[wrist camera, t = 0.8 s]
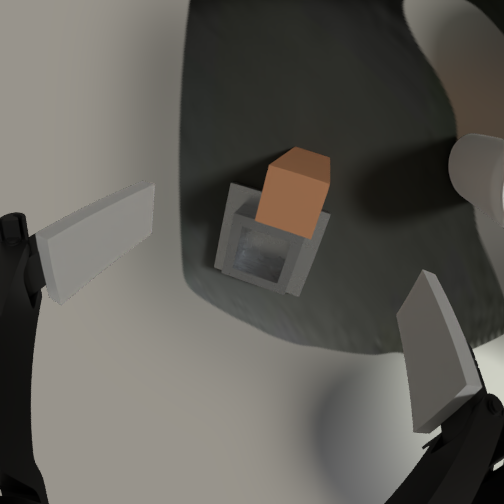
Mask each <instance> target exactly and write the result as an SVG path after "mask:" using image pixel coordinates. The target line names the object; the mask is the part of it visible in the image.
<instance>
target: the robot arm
mask: <svg viewBox="0 0 504 504" xmlns="http://www.w3.org/2000/svg"><path fill="white" fill-rule="evenodd" d="M154 191H155V184H154V183H150V182H146V181H140V182H138V183H136V184H134V185H131V186H129V187H126V188H124V189H122V190H120V191H118V192H115V193H113V194H111V195H109V196H106V197H105V198H102V199H100V200H98V201H96V202H94V203H92V204H90V205H88V206H85V207H84V208H81V209H80V210H78V211H76V212H74V213H72V214H70V215H68V216H66V217H64V218H62V219H60V220H58V221H56V222H55V223H53V224H51V225H49V226H47V227H46V228H44V229H42V230H40V231H38V232H37V233H35V234H33V235H32V236H30V237H29V235H28V229H27V223H26V216H25V215H24V214H23V213H17V212H15V213H10V214H7V215H4V216H2V217H1V218H0V490H1V493H2V496H0V504H49V503H48V498H47V494H46V489H45V484H44V480H43V477H42V475H41V472H40V470H39V469H38V467H37V465H36V463H35V460H34V456H33V446H32V433H31V378H32V363H33V353H34V343H35V336H36V328H37V322H38V316H39V310H40V305H41V300H42V292H41V288H43V287H44V286H45V285H46V287H47V290H48V295H49V297H50V298H51V299H52V300H54V301H55V302H57V303H58V304H60V305H62V304H63V303H65V302H66V301H67V300H68V299H69V298H71V297H72V296H73V295H74V294H75V293H76V292H78V291H79V290H80V289H81V288H83V287H84V286H85V285H86V284H87V283H89V282H90V281H91V280H92V279H94V278H95V277H96V276H97V275H98V274H100V273H101V272H102V271H103V270H105V269H106V268H107V267H108V266H110V265H111V264H112V263H114V262H115V261H116V260H118V259H119V258H120V257H121V256H123V255H124V254H125V253H127V252H128V251H129V250H131V249H132V248H133V247H135V246H136V245H137V244H139V243H140V242H141V241H143V240H144V239H145V238H147V237H148V236H149V235H151V234H152V219H153V203H154ZM396 316H397V321H398V326H399V330H400V335H401V340H402V346H403V351H404V357H405V363H406V369H407V376H408V383H409V390H410V399H411V408H412V417H413V432H416V433H431V432H432V431H433V430H435V429H436V428H437V427H438V426H440V425H441V430H442V432H441V433H440V434H439V435H438V436H436V437H435V438H434V439H432V440H431V441H429V442H428V443H427V444H425V445H424V446H423V447H422V448H423V449H425V448H426V447H428V446H429V448H428V449H427V451H426V452H425V454H424V455H423V457H422V458H421V459H420V461H419V462H418V463H417V465H416V466H415V467H414V469H413V470H412V472H411V473H410V474H409V475H408V477H407V478H406V479H405V480H404V482H403V483H402V484H401V485H400V486H399V487H398V489H397V490H396V491H395V492H394V493H393V495H392V496H391V497H390V498H389V499H388V500H387V501H386V503H384V504H504V463H503V465H502V466H501V467H499V468H498V469H496V470H494V471H493V468H494V465H495V464H496V463H498V462H499V461H501V460H502V459H504V407H503V405H502V403H501V401H500V400H499V399H498V397H496V396H495V395H493V394H490V393H489V394H487V391H486V387H485V384H484V381H483V378H482V375H481V372H480V369H479V368H478V364H477V361H476V360H475V355H474V353H473V350H472V348H471V346H470V345H469V344H468V342H467V341H466V339H465V337H464V335H463V332H462V330H461V328H460V325H459V323H458V321H457V318H456V316H455V314H454V312H453V310H452V307H451V305H450V303H449V301H448V299H447V297H446V295H445V293H444V291H443V289H442V287H441V285H440V283H439V281H438V279H437V277H436V275H435V274H433V273H430V272H428V271H425V270H422V271H421V273H420V275H419V277H418V279H417V281H416V282H415V284H414V286H413V288H412V290H411V291H410V293H409V295H408V297H407V298H406V300H405V302H404V303H403V305H402V307H401V308H400V310H399V311H398V313H397V315H396Z"/></svg>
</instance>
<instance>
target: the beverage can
mask: <svg viewBox="0 0 504 504" xmlns="http://www.w3.org/2000/svg"><path fill="white" fill-rule="evenodd" d="M448 168H449V176H450V179H451V182H452V185H453V187H454V188H455V190H456V191H457V192H458V194H459V195H461V196H462V197H463V198H464V199H466V200H467V201H469V202H470V203H471V204H473V205H474V206H476V207H477V208H478V209H480V210H481V211H482V212H484V213H485V214H486V215H488V216H489V217H490V218H491V219H493V220H494V221H495V222H496V223H498V224H499V225H500V226H501V227H502V228H504V139H501V138H497V137H492V136H485V135H481V134H467V135H464V136H463V137H461V138H460V139H459V140H458V141H457V142H456V143H455V144H454V146H453V148H452V150H451V153H450V156H449V163H448Z"/></svg>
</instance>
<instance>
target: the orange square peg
mask: <svg viewBox="0 0 504 504" xmlns="http://www.w3.org/2000/svg"><path fill="white" fill-rule="evenodd" d="M329 186H330V158H329V157H326V156H323V155H320V154H317V153H314V152H311V151H308V150H304V149H301V148H298V147H294V148H292V149H291V150H290V151H288V152H287V153H285V154H284V155H282V156H281V157H280V158H278V159H277V160H275V161H274V162H272V163H271V164H270V165H269V167H268V171H267V175H266V179H265V183H264V187H263V191H262V194H261V198H260V202H259V206H258V210H257V214H256V218H255V221H257V222H260V223H263V224H266V225H269V226H272V227H275V228H278V229H281V230H284V231H287V232H290V233H293V234H296V235H299V236H302V237H305V238H308V239H311V238H312V235H313V232H314V230H315V227H316V224H317V221H318V218H319V215H320V212H321V209H322V206H323V204H324V201H325V198H326V195H327V192H328V189H329Z"/></svg>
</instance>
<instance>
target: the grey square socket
mask: <svg viewBox="0 0 504 504" xmlns="http://www.w3.org/2000/svg"><path fill="white" fill-rule="evenodd" d="M262 191H263V190H261V189H258V188H254V187H251V186H247V185H244V184H241V183H237V182H234V181H233V182H231V184H230V189H229V194H228V198H227V203H226V208H225V213H224V218H223V223H222V228H221V233H220V238H219V243H218V249H217V254H216V259H215V265H214V267H215V268H217V269H220V270H222V273H223V274H226V275H229V276H231V277H234V278H237V279H240V280H243V281H245V282H248V283H251V284H254V285H257V286H260V287H263V288H265V289H268V290H271V291H274V292H277V293H280V294H283V295H284V294H285V292H286V293H289V294H292V295H295V296H298V297H299V295H300V293H301V290H302V288H303V285H304V283H305V280H306V278H307V275H308V273H309V270H310V268H311V265H312V263H313V260H314V258H315V255H316V252H317V250H318V247H319V244H320V242H321V239H322V236H323V234H324V231H325V228H326V226H327V223H328V220H329V217H330V215H331V212H328V211H326V210H323V209H321V212H320V215H319V218H318V221H317V224H316V227H315V230H314V232H313V235H312V238H311V239H308V238H305V237H302V236H299V235H296V234H293V233H290V232H287V231H284V230H281V229H278V228H275V227H272V226H269V225H266V224H263V223H260V222H257V221H255V218H256V214H257V210H258V206H259V202H260V198H261V194H262Z"/></svg>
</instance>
